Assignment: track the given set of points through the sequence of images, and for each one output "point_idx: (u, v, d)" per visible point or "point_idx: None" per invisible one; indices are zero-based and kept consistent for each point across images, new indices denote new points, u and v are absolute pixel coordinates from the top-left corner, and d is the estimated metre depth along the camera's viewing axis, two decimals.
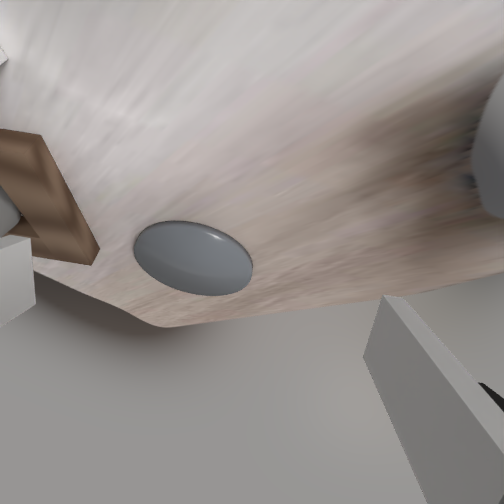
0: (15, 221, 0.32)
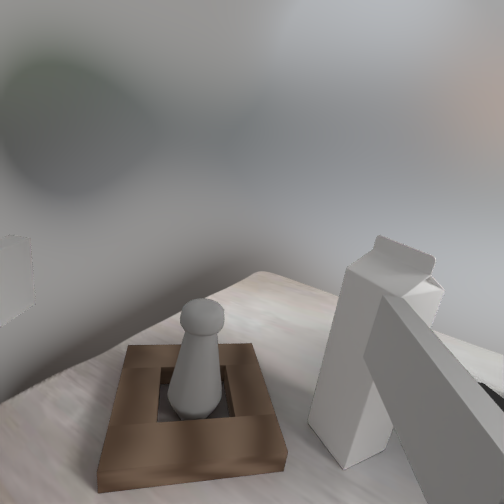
0: (185, 408, 0.31)
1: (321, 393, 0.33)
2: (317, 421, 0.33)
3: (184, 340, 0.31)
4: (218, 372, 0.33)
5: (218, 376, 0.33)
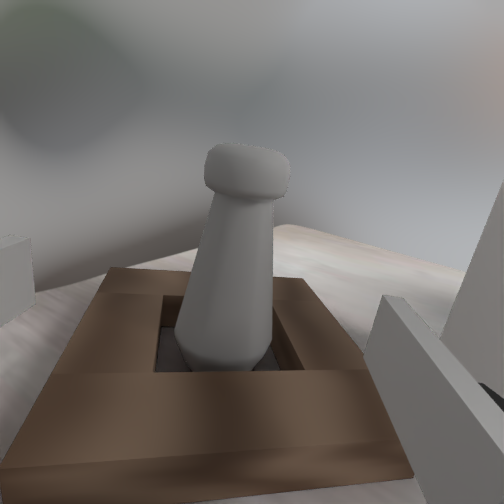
0: (209, 352, 0.16)
1: (461, 333, 0.18)
2: None
3: (210, 218, 0.16)
4: (270, 290, 0.17)
5: (270, 297, 0.18)
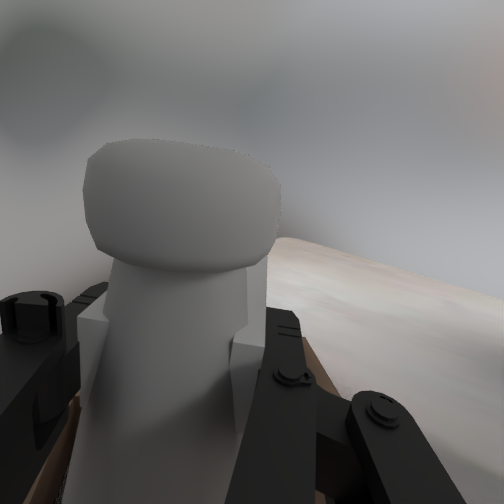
0: None
1: None
2: None
3: (109, 303, 0.07)
4: None
5: None
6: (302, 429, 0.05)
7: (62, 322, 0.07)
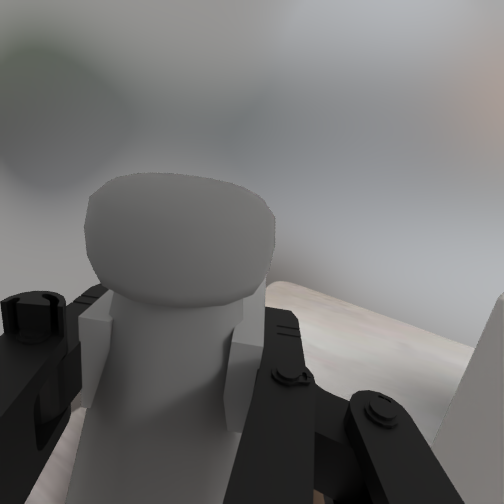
0: None
1: None
2: None
3: None
4: None
5: None
6: (301, 429, 0.05)
7: (64, 322, 0.07)
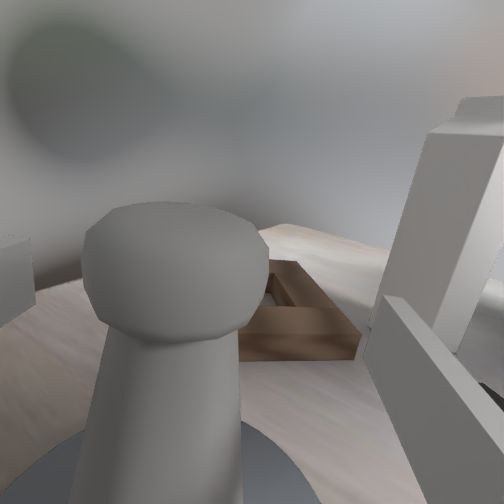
0: None
1: (388, 287, 0.30)
2: None
3: (107, 360, 0.08)
4: (237, 462, 0.09)
5: (237, 475, 0.10)
6: None
7: None
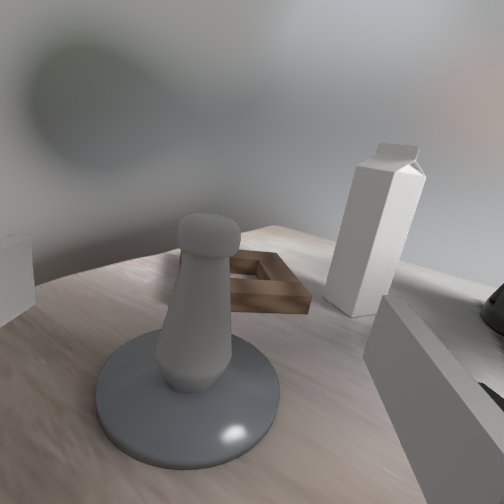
0: (183, 370, 0.22)
1: (334, 268, 0.44)
2: (331, 291, 0.44)
3: (182, 270, 0.21)
4: (229, 320, 0.23)
5: (229, 325, 0.23)
6: None
7: None
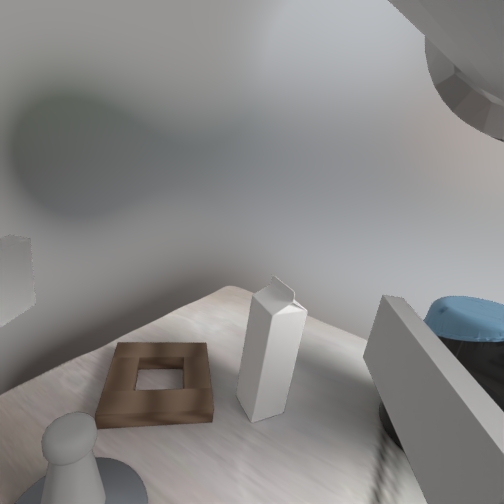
0: None
1: (241, 375, 0.50)
2: (240, 394, 0.51)
3: (49, 464, 0.28)
4: (94, 490, 0.30)
5: (95, 494, 0.30)
6: None
7: None
